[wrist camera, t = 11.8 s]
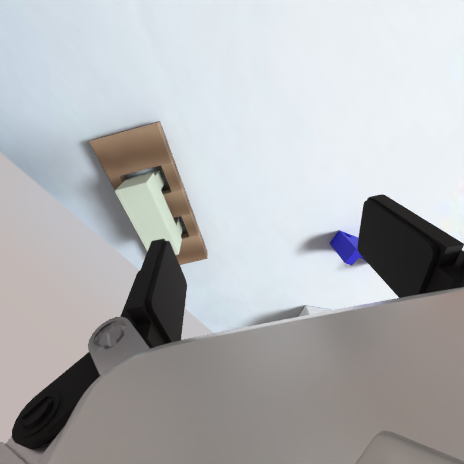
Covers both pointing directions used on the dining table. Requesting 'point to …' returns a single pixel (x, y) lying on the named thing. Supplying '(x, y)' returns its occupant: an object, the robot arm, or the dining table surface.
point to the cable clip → (346, 247)
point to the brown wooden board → (144, 157)
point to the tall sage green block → (150, 210)
